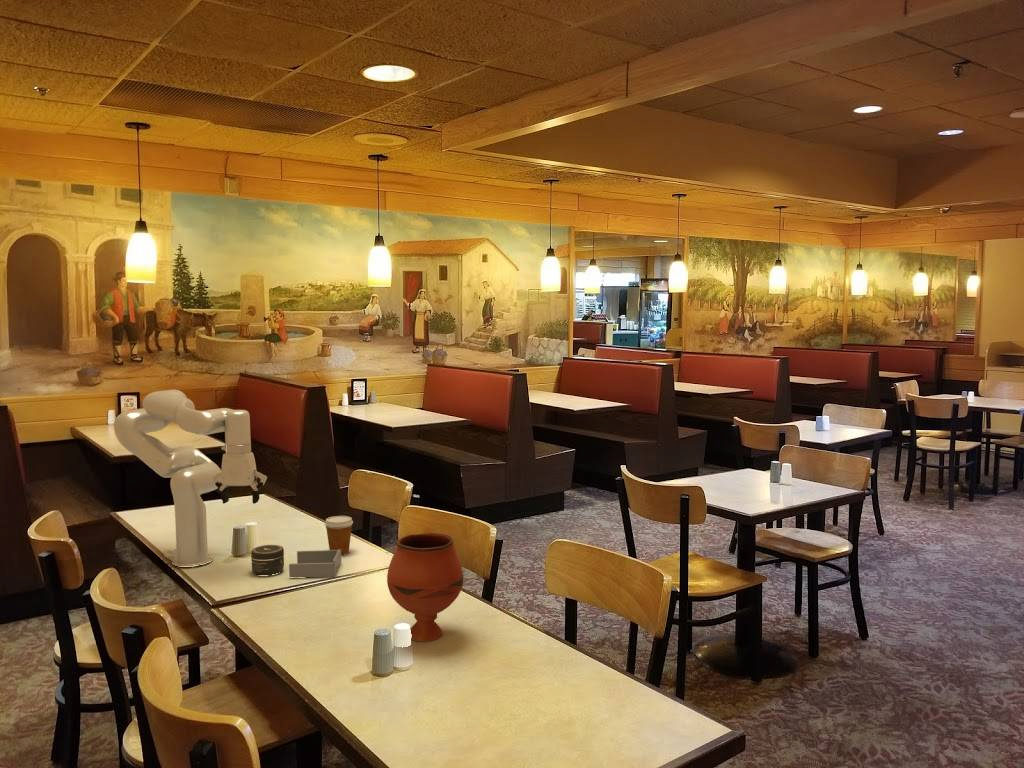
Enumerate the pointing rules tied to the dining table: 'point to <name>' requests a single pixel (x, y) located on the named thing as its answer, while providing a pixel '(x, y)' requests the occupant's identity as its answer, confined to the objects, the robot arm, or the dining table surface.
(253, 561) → the jar
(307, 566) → the bin
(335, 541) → the disposable coffee cup
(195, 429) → the robot arm
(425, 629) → the goblet
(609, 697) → the dining table surface
